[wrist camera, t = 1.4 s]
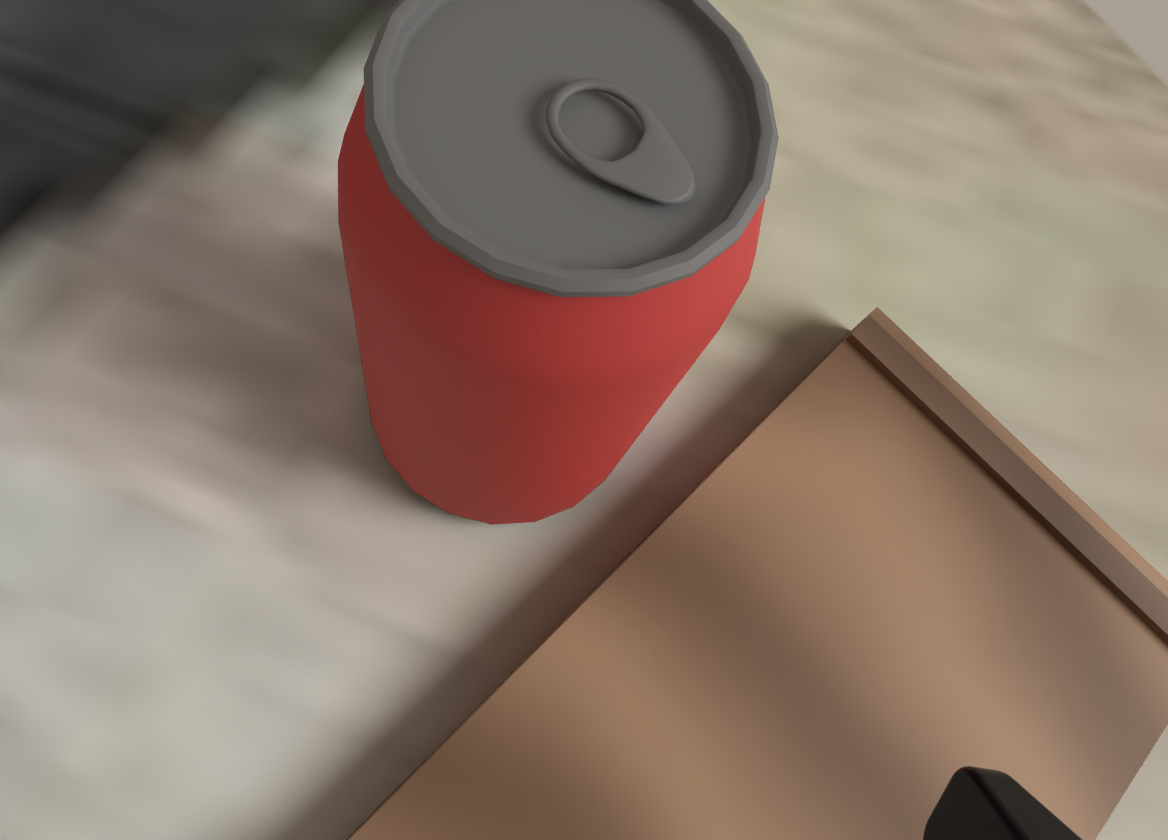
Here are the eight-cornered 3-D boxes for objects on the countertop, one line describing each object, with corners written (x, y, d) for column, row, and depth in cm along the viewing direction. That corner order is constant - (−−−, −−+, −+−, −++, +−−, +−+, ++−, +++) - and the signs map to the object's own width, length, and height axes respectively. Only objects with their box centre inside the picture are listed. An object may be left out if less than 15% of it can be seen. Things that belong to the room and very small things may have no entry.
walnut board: (692, 1381, 17) (722, 1453, 15) (282, 904, 19) (268, 921, 17) (1177, 639, 24) (1234, 633, 22) (852, 329, 25) (882, 302, 24)
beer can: (514, 586, 21) (616, 436, 10) (313, 409, 22) (202, 85, 11) (675, 398, 24) (902, 109, 13) (490, 243, 24) (550, -167, 13)
